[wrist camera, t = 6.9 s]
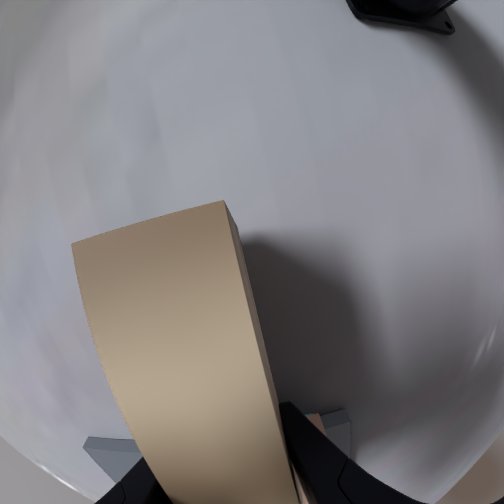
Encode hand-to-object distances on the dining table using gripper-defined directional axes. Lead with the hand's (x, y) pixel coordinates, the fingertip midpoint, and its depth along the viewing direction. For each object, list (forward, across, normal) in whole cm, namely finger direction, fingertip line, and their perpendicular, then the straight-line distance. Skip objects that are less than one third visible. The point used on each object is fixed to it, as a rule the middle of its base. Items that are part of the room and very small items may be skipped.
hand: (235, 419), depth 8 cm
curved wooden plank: (+1, 0, 0) cm, 1 cm away
